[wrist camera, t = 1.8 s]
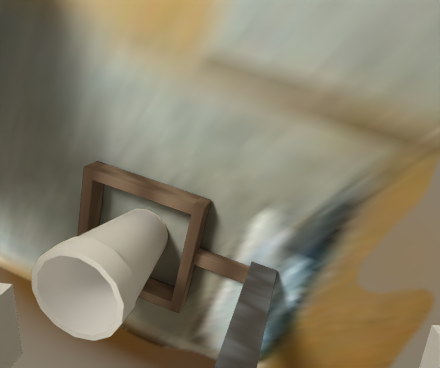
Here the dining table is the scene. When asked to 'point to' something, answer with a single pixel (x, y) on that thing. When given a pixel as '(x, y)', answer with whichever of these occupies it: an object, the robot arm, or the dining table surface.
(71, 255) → the foam cup
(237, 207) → the dining table surface
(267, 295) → the sliding frame
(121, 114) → the dining table surface
